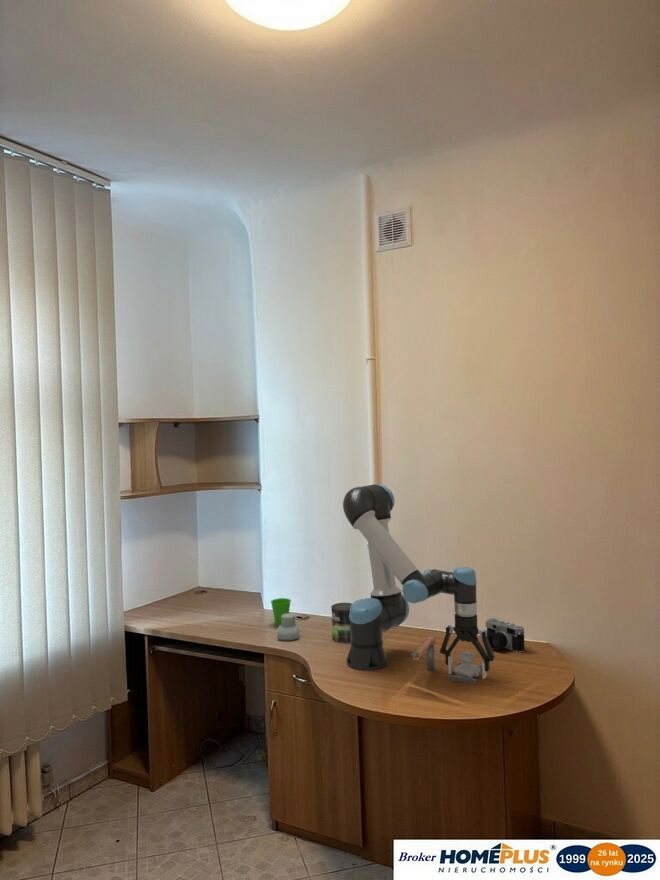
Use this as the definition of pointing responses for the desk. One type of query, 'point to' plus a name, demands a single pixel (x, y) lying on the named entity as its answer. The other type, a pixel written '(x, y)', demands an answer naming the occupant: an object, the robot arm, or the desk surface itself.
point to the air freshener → (288, 628)
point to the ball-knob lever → (423, 647)
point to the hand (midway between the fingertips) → (467, 677)
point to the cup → (280, 608)
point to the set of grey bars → (451, 677)
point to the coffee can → (341, 622)
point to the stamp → (467, 666)
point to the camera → (505, 635)
